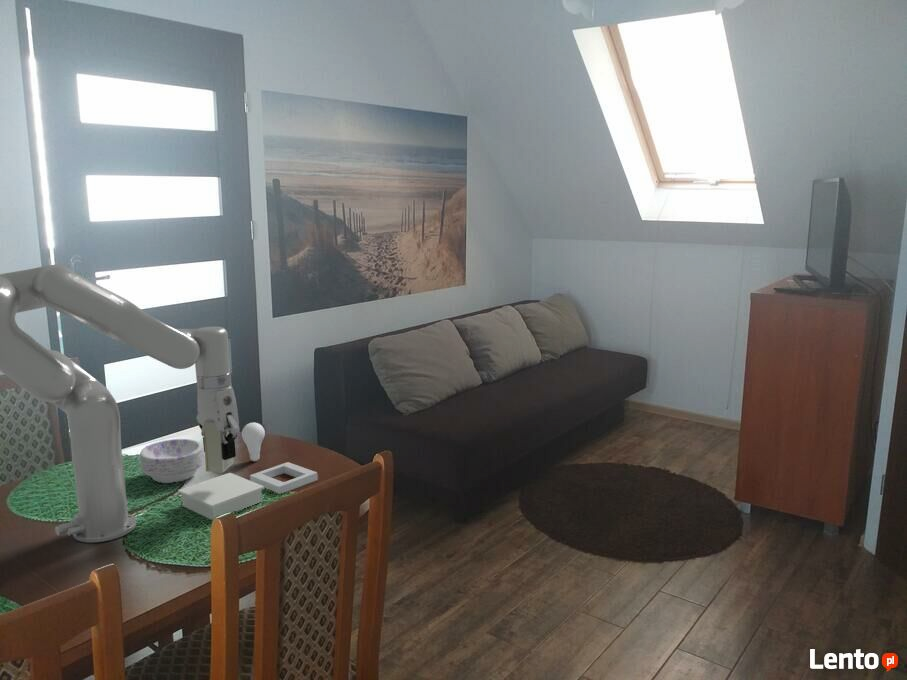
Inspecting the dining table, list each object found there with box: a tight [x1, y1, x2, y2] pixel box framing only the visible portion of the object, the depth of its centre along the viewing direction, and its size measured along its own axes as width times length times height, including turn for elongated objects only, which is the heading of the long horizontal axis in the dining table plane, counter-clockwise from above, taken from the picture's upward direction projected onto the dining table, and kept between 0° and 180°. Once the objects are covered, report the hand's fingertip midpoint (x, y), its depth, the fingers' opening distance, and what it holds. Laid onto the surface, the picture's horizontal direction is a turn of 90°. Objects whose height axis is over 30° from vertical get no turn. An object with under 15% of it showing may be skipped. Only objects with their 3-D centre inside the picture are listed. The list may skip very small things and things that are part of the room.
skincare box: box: [203, 420, 235, 474], centre depth 168 cm, size 6×4×12 cm
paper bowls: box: [139, 438, 205, 484], centre depth 187 cm, size 15×15×8 cm
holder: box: [249, 461, 319, 495], centre depth 184 cm, size 12×12×2 cm
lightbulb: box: [241, 422, 266, 462], centre depth 197 cm, size 6×6×11 cm
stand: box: [177, 472, 265, 521], centre depth 170 cm, size 14×14×4 cm
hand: (219, 454), depth 168 cm, fingers closed on skincare box, 6 cm apart
